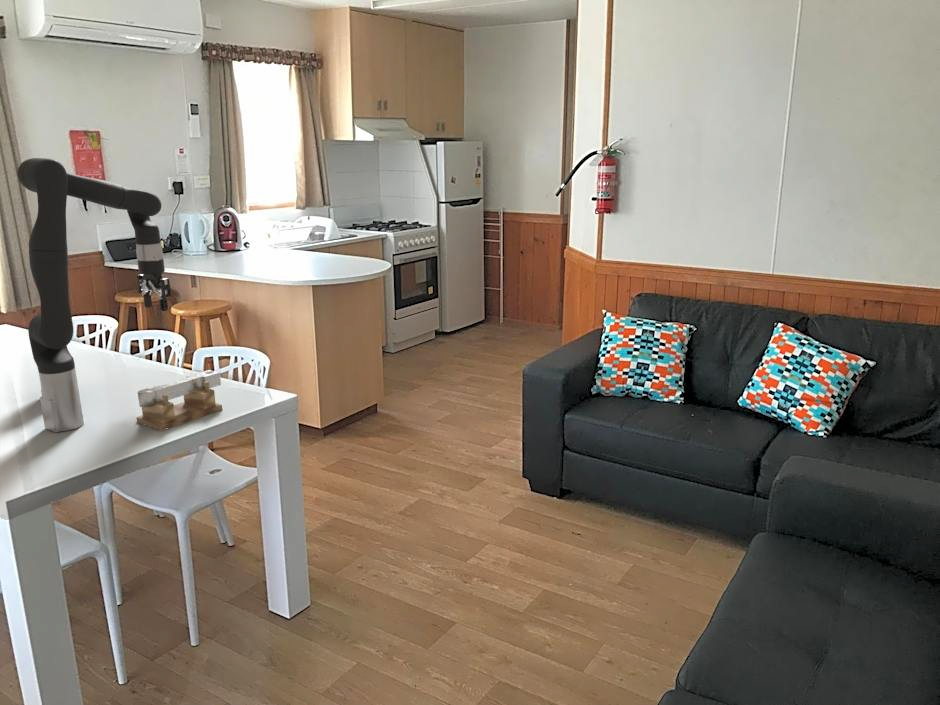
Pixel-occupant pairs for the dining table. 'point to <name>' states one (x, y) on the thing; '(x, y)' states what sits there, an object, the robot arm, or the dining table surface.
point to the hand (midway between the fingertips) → (156, 308)
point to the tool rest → (180, 409)
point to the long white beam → (178, 388)
